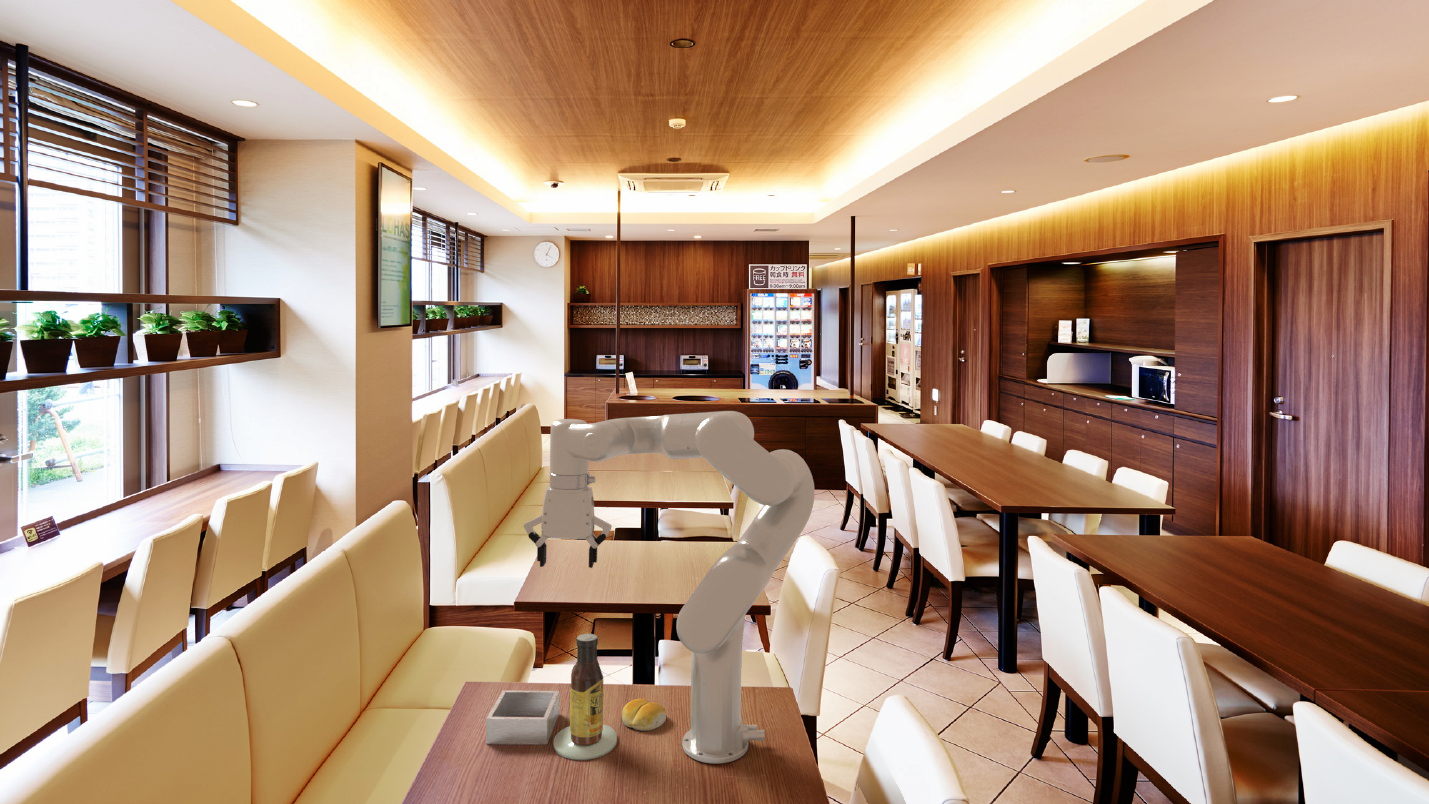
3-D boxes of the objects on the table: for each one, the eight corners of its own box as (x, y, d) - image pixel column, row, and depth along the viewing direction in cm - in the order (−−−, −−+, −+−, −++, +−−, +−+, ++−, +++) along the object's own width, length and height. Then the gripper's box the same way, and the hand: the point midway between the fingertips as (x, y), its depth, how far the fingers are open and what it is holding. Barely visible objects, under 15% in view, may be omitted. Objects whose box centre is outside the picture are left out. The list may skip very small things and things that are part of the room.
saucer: (620, 726, 148) (620, 722, 148) (612, 760, 136) (612, 756, 136) (560, 726, 148) (560, 722, 148) (547, 759, 136) (547, 755, 136)
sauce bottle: (596, 749, 138) (595, 646, 137) (564, 745, 139) (564, 643, 138) (608, 731, 144) (608, 632, 143) (577, 728, 146) (577, 630, 144)
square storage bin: (559, 714, 153) (559, 690, 152) (547, 744, 141) (546, 719, 141) (502, 713, 152) (502, 690, 152) (486, 744, 141) (485, 718, 140)
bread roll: (639, 707, 156) (639, 688, 156) (672, 719, 151) (672, 701, 151) (612, 723, 150) (612, 704, 149) (645, 736, 145) (646, 717, 144)
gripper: (614, 479, 151) (612, 560, 152) (528, 476, 150) (527, 558, 151) (610, 486, 143) (608, 572, 145) (520, 484, 143) (519, 570, 144)
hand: (567, 565), depth 148 cm, fingers open, 9 cm apart
